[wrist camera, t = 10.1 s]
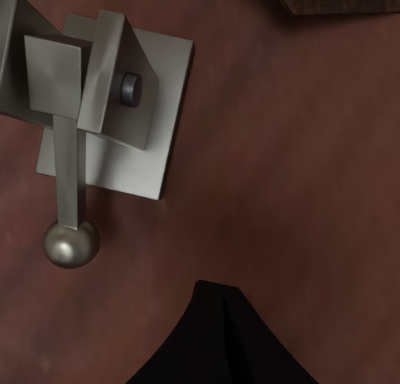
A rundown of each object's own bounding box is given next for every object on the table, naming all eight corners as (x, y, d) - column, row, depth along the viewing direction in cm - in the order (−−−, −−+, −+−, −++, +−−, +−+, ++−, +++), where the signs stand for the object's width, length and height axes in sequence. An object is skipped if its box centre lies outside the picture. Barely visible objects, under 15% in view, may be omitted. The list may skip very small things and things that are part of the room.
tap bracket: (161, 199, 20) (124, 217, 11) (44, 173, 20) (-83, 170, 11) (194, 48, 19) (183, -57, 11) (74, 22, 20) (-35, -104, 11)
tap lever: (107, 250, 19) (86, 285, 17) (61, 240, 19) (33, 273, 17) (118, 46, 13) (88, 50, 11) (52, 31, 13) (7, 32, 11)
